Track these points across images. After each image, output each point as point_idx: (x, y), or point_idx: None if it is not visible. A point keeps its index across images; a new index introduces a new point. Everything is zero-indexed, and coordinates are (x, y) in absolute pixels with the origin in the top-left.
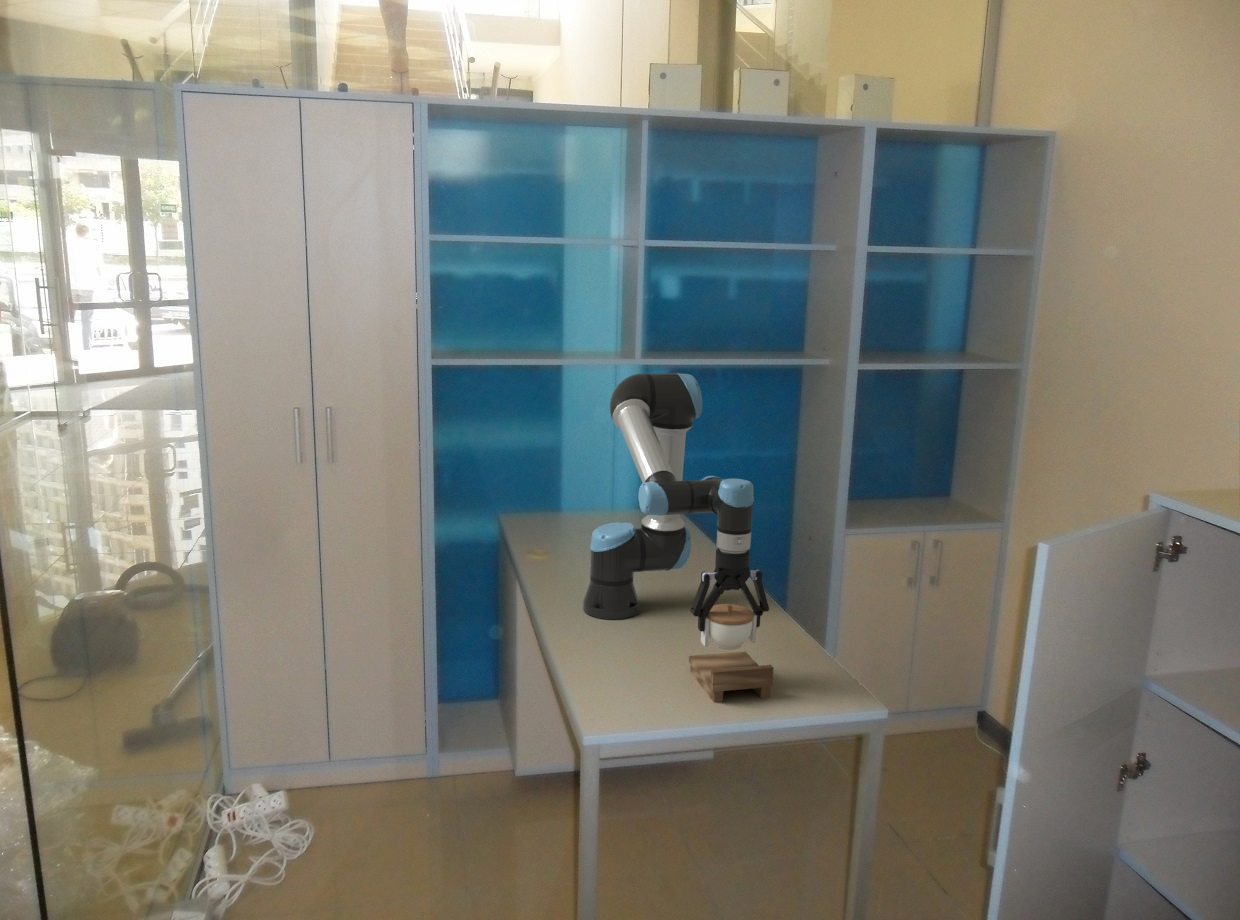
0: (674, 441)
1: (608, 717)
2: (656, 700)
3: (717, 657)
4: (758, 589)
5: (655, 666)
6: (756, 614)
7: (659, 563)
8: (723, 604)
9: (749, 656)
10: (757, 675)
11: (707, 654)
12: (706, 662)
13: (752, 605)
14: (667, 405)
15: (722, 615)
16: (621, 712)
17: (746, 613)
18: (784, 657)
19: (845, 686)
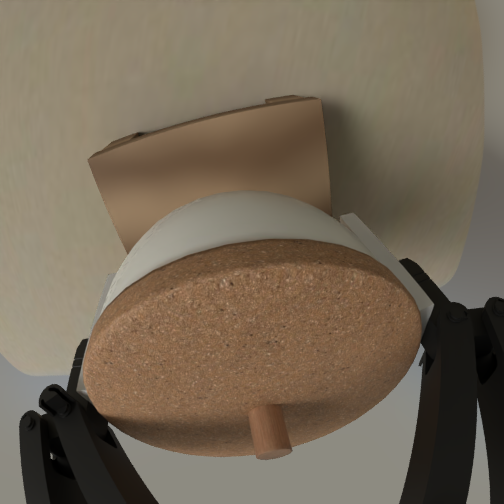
0: None
1: (22, 350)
2: (62, 304)
3: (195, 160)
4: (491, 473)
5: (19, 125)
6: (424, 340)
7: None
8: (237, 304)
9: (323, 146)
10: None
11: (157, 135)
12: (150, 209)
13: (420, 411)
14: None
15: (206, 444)
16: (29, 339)
17: (360, 403)
18: (422, 49)
19: (464, 213)
